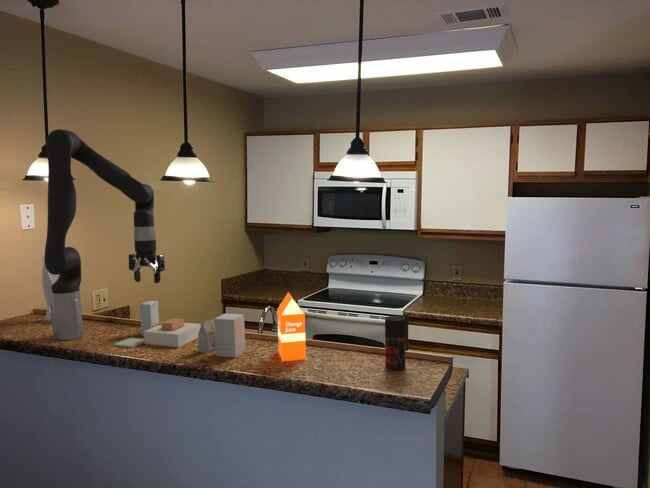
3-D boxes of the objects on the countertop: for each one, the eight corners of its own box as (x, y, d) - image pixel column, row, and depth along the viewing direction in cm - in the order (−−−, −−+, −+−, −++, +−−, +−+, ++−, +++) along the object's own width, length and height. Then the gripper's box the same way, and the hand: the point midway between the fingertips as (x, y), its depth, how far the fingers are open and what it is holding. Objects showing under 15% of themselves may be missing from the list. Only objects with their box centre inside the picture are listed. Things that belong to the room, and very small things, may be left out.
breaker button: (161, 333, 191) (161, 322, 191) (173, 328, 197) (172, 318, 197) (172, 334, 189) (172, 323, 189) (183, 329, 196) (183, 318, 195)
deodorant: (383, 364, 164) (383, 316, 162) (402, 363, 164) (402, 315, 162) (387, 371, 158) (387, 321, 156) (407, 370, 158) (407, 320, 156)
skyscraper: (39, 322, 223) (33, 254, 219) (56, 317, 230) (50, 252, 227) (53, 324, 219) (48, 255, 216) (70, 319, 226) (65, 253, 223)
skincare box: (151, 336, 199) (149, 304, 197) (141, 336, 199) (139, 304, 198) (160, 331, 204) (158, 300, 203) (149, 331, 205) (147, 300, 204)
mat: (113, 345, 188) (113, 344, 188) (129, 339, 196) (129, 337, 195) (132, 347, 185) (132, 346, 185) (147, 341, 193) (147, 339, 193)
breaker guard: (144, 343, 190) (143, 331, 189) (169, 333, 203) (168, 321, 202) (178, 347, 185) (177, 334, 184) (201, 336, 198) (200, 324, 197)
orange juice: (301, 350, 179) (300, 291, 176) (306, 359, 170) (304, 296, 168) (278, 352, 177) (276, 292, 175) (281, 361, 168) (279, 298, 166)
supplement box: (246, 351, 179) (244, 314, 177) (235, 358, 172) (233, 319, 170) (226, 349, 181) (224, 312, 180) (215, 356, 174) (213, 318, 173)
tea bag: (199, 351, 180) (197, 322, 179) (213, 346, 185) (212, 317, 184) (206, 353, 178) (205, 323, 177) (221, 347, 183) (220, 319, 182)
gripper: (122, 239, 197) (125, 283, 199) (154, 240, 192) (157, 285, 194) (135, 237, 204) (138, 279, 206) (167, 237, 199) (170, 281, 201)
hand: (147, 282), depth 200 cm, fingers open, 8 cm apart
